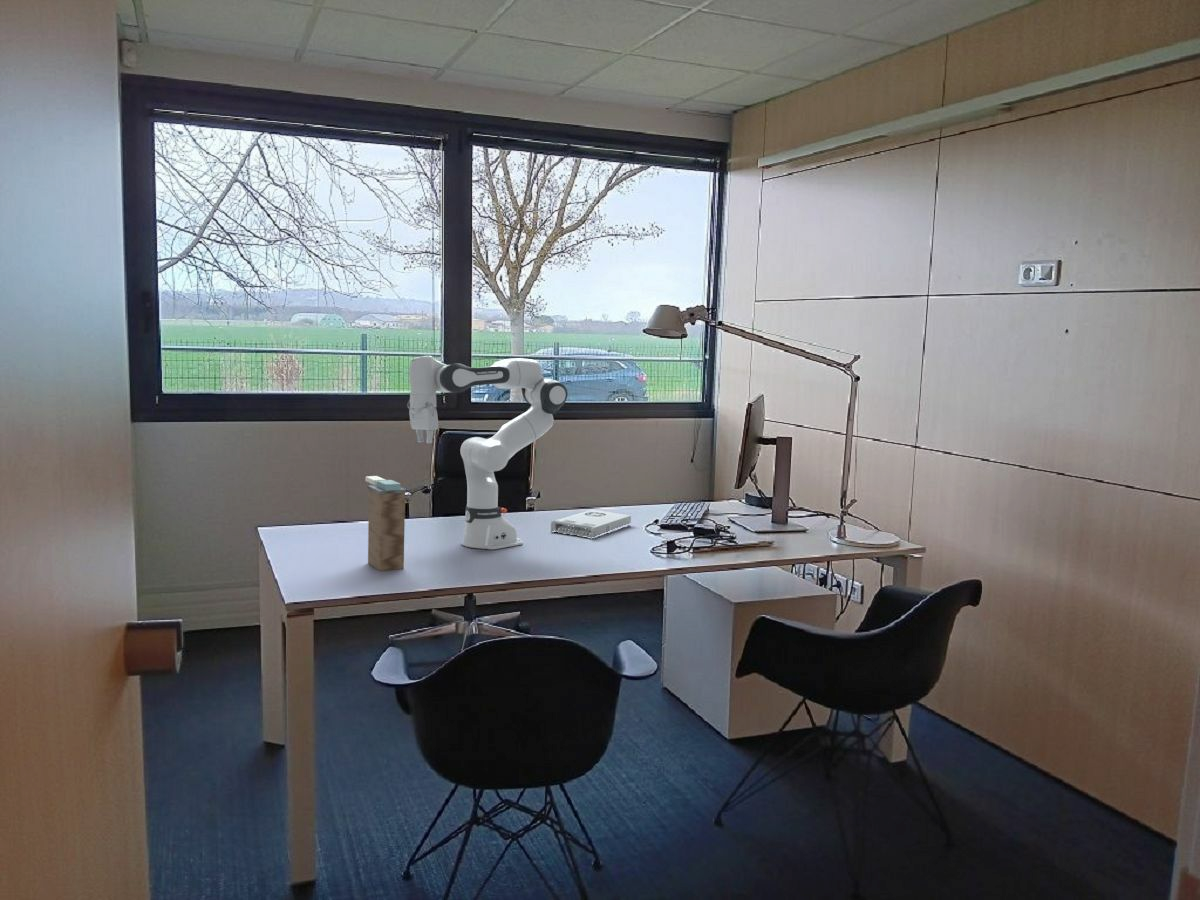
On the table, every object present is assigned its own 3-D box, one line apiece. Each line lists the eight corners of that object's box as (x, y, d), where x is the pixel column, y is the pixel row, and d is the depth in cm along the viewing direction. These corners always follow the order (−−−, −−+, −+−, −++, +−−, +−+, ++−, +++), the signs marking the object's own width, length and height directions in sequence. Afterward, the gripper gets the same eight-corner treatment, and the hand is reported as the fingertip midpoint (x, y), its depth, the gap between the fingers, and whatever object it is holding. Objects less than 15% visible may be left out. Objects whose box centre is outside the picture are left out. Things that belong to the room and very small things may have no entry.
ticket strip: (378, 480, 299) (378, 474, 299) (400, 489, 283) (400, 483, 282) (363, 480, 296) (364, 475, 296) (385, 490, 280) (385, 484, 280)
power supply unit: (550, 533, 350) (550, 521, 349) (591, 520, 378) (592, 509, 378) (591, 541, 341) (592, 528, 340) (630, 527, 369) (631, 515, 369)
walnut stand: (392, 560, 296) (393, 484, 293) (405, 568, 287) (406, 489, 284) (366, 563, 291) (367, 485, 288) (378, 571, 282) (379, 491, 279)
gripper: (442, 402, 298) (443, 443, 298) (423, 402, 315) (424, 441, 316) (423, 402, 295) (425, 444, 295) (405, 403, 312) (407, 442, 313)
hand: (425, 442), depth 306 cm, fingers open, 8 cm apart
